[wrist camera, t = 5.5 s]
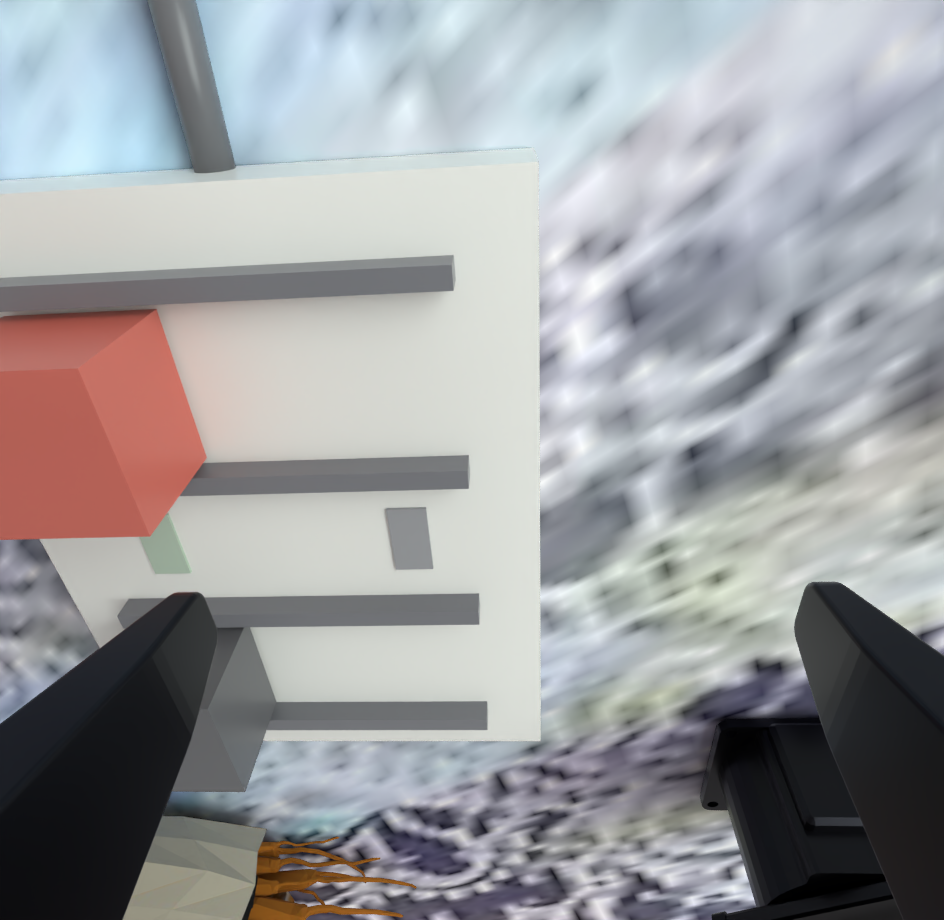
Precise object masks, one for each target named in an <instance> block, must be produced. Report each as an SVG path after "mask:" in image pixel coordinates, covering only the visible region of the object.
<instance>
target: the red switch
mask: <svg viewBox="0 0 944 920" xmlns="http://www.w3.org/2000/svg"><path fill="white" fill-rule="evenodd" d="M206 458H207V456H206V453H205V450H204V448H203V445H202V442H201V439H200V436H199V433H198V430H197V427H196V424H195V421H194V418H193V415H192V412H191V409H190V406H189V403H188V400H187V397H186V394H185V392H184V389H183V386H182V383H181V380H180V377H179V374H178V371H177V368H176V365H175V362H174V359H173V356H172V353H171V350H170V347H169V344H168V341H167V338H166V336H165V333H164V330H163V327H162V324H161V321H160V318H159V315H158V312H157V309H146V310H124V311H102V312H81V313H59V314H37V315H16V316H3V317H1V318H0V540H12V539H58V538H105V537H150V536H151V535H152V533H153V532H154V530H155V529H156V528H157V526H158V525H159V524H160V522H161V521H162V519H163V518H164V517H165V515H166V514H167V512H168V511H169V510H170V508H171V507H172V506H173V504H174V503H175V501H176V500H177V499H178V497H179V496H180V494H181V493H182V492H183V490H184V489H185V488H186V486H187V485H188V483H189V482H190V481H191V479H192V478H193V476H194V475H195V474H196V472H197V471H198V469H199V468H200V467H201V465H202V464H203V463H204V461H205V460H206Z"/></svg>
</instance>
